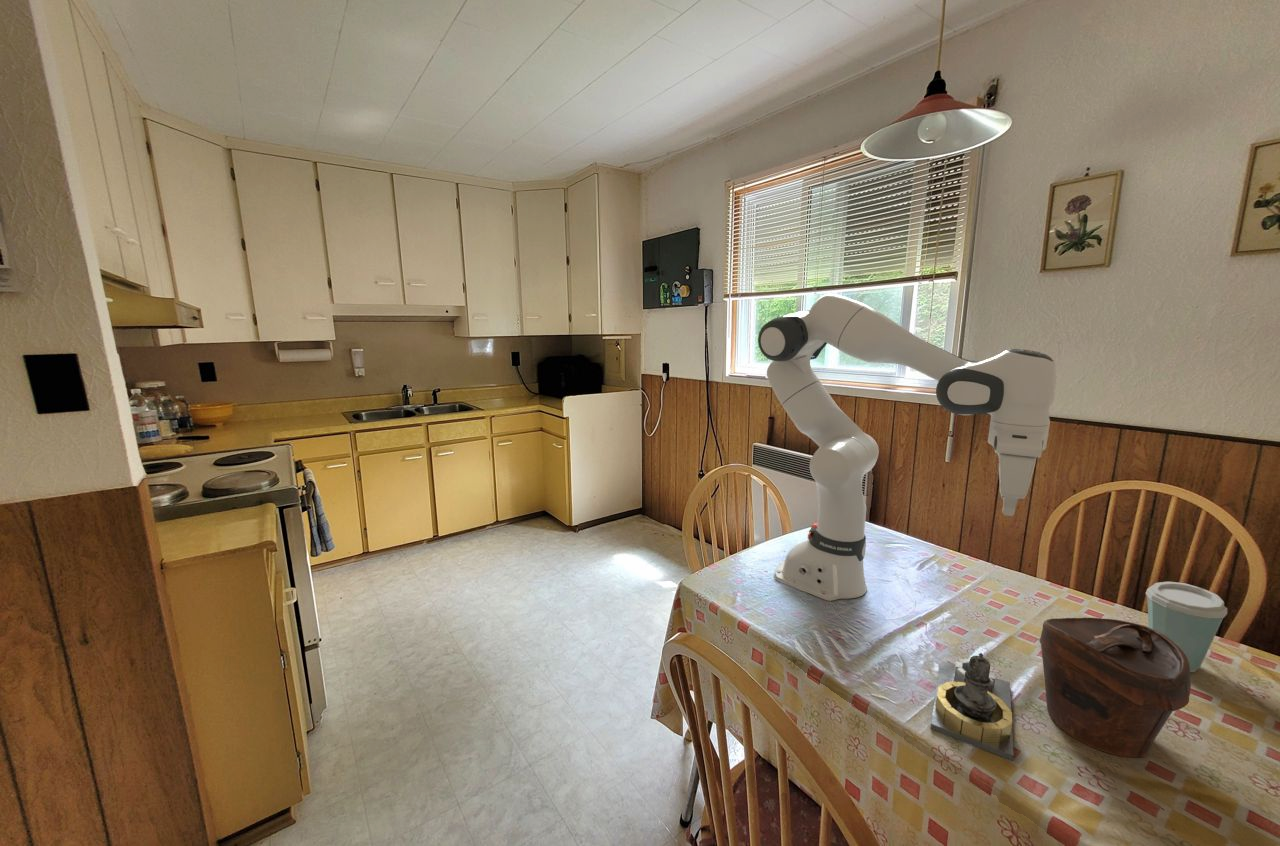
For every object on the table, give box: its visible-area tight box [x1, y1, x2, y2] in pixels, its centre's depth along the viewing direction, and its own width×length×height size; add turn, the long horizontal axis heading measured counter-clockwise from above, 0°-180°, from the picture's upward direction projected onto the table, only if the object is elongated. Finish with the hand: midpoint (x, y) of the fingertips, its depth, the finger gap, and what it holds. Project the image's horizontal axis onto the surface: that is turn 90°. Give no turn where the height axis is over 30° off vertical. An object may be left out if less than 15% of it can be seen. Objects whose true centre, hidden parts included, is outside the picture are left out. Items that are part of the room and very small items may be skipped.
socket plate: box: [930, 658, 1015, 762], centre depth 87 cm, size 11×19×4 cm, turn 145°
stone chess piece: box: [954, 652, 996, 723], centre depth 82 cm, size 6×6×12 cm
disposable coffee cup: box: [1145, 581, 1228, 673], centre depth 96 cm, size 11×11×15 cm
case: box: [1038, 617, 1192, 758], centre depth 81 cm, size 18×20×18 cm
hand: (1007, 506), depth 96 cm, fingers open, 8 cm apart
